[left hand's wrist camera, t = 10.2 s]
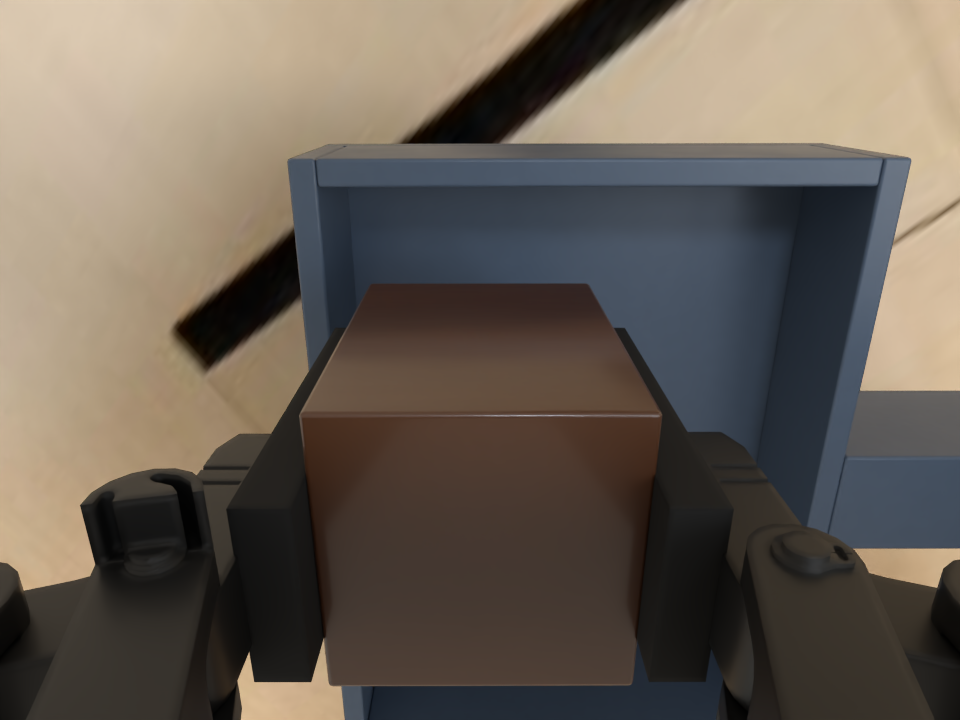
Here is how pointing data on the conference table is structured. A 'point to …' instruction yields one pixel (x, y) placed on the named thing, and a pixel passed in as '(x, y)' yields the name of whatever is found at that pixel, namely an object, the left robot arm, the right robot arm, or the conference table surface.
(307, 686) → the conference table surface
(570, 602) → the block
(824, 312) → the tray
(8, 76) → the conference table surface
